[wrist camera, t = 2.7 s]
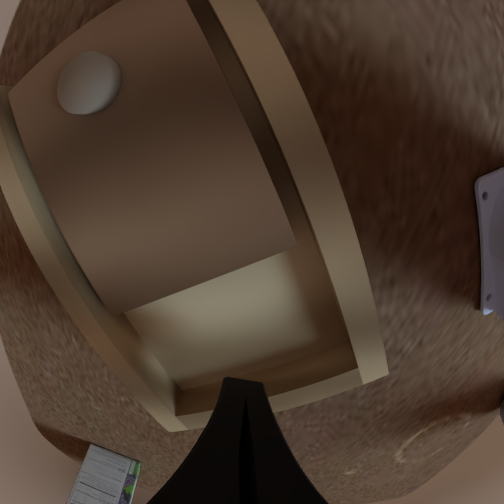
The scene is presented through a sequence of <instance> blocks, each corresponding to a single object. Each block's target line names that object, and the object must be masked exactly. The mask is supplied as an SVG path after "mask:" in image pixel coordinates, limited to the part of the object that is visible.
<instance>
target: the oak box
mask: <svg viewBox="0 0 504 504" xmlns="http://www.w3.org/2000/svg"><path fill="white" fill-rule="evenodd" d="M187 2H188V4H189V6H190V8H191V10H192V11H193V13H194V15H195V17H196V19H197V21H198V23H199V25H200V27H201V29H202V31H203V33H204V35H205V37H206V39H207V40H208V42H209V44H210V46H211V48H212V50H213V52H214V54H215V56H216V58H217V61H218V63H219V65H220V67H221V69H222V71H223V73H224V75H225V77H226V79H227V81H228V83H229V85H230V87H231V90H232V92H233V94H234V96H235V98H236V100H237V102H238V104H239V107H240V109H241V111H242V113H243V115H244V117H245V120H246V122H247V124H248V126H249V128H250V131H251V133H252V135H253V137H254V140H255V142H256V144H257V146H258V149H259V151H260V153H261V155H262V158H263V160H264V162H265V165H266V167H267V169H268V172H269V174H270V176H271V179H272V181H273V183H274V186H275V188H276V190H277V193H278V195H279V198H280V200H281V202H282V205H283V207H284V210H285V212H286V215H287V217H288V220H289V222H290V225H291V227H292V229H293V232H294V235H295V238H296V240H297V243H298V246H297V247H294V248H292V249H289V250H287V251H284V252H281V253H279V254H276V255H274V256H271V257H269V258H266V259H263V260H261V261H258V262H256V263H253V264H251V265H248V266H245V267H243V268H240V269H238V270H235V271H232V272H230V273H227V274H225V275H222V276H219V277H217V278H214V279H212V280H209V281H206V282H204V283H201V284H198V285H196V286H193V287H191V288H188V289H185V290H183V291H180V292H177V293H175V294H172V295H169V296H167V297H164V298H162V299H159V300H156V301H154V302H151V303H148V304H146V305H143V306H140V307H138V308H135V309H132V310H129V311H127V312H124V313H121V314H119V315H116V316H113V317H112V315H111V314H110V312H109V311H108V309H107V308H106V306H105V305H104V303H103V302H102V300H101V299H100V297H99V296H98V294H97V293H96V291H95V289H94V288H93V286H92V285H91V283H90V281H89V280H88V278H87V276H86V275H85V273H84V271H83V270H82V268H81V266H80V265H79V263H78V261H77V259H76V258H75V256H74V254H73V252H72V250H71V249H70V247H69V245H68V243H67V241H66V239H65V237H64V236H63V234H62V232H61V230H60V228H59V226H58V224H57V222H56V220H55V218H54V216H53V214H52V212H51V210H50V208H49V205H48V203H47V201H46V199H45V197H44V194H43V192H42V190H41V188H40V185H39V183H38V181H37V178H36V176H35V174H34V171H33V169H32V166H31V164H30V161H29V159H28V156H27V153H26V151H25V148H24V145H23V142H22V139H21V136H20V134H19V131H18V128H17V124H16V121H15V118H14V115H13V111H12V108H11V105H10V101H9V97H8V93H9V91H10V90H11V89H12V88H13V87H14V86H9V85H0V186H1V189H2V191H3V194H4V196H5V199H6V201H7V203H8V206H9V208H10V210H11V213H12V215H13V217H14V219H15V221H16V224H17V226H18V228H19V230H20V232H21V234H22V236H23V238H24V240H25V242H26V244H27V246H28V248H29V250H30V252H31V254H32V255H33V257H34V259H35V261H36V263H37V264H38V266H39V268H40V270H41V272H42V273H43V275H44V277H45V278H46V280H47V282H48V283H49V285H50V287H51V288H52V290H53V292H54V293H55V295H56V296H57V298H58V299H59V301H60V303H61V304H62V306H63V307H64V309H65V310H66V312H67V313H68V315H69V316H70V318H71V319H72V320H73V322H74V323H75V325H76V326H77V328H78V329H79V330H80V332H81V333H82V334H83V336H84V337H85V339H86V340H87V341H88V343H89V344H90V345H91V346H92V348H93V349H94V350H95V352H96V353H97V354H98V355H99V357H100V358H101V359H102V360H103V362H104V363H105V364H106V365H107V367H108V368H109V369H110V370H111V371H112V373H113V374H114V375H115V376H116V377H117V378H118V380H119V381H120V382H121V383H122V384H123V385H124V386H125V388H126V389H127V390H128V391H129V392H130V393H131V394H132V395H133V396H134V397H135V398H136V400H137V401H138V402H139V403H140V404H141V405H142V406H143V407H144V408H145V409H146V410H147V411H148V412H149V413H150V414H151V415H152V416H153V417H154V418H155V419H156V420H157V421H158V422H159V423H160V424H161V425H162V426H163V427H164V428H165V429H166V430H167V431H168V432H175V431H183V430H190V429H197V428H204V427H206V425H207V423H208V421H209V419H210V417H211V415H212V413H213V411H214V409H215V406H216V404H217V401H218V397H219V393H220V390H221V386H222V382H223V378H225V377H233V378H238V379H244V380H250V381H257V382H262V383H263V384H264V387H265V390H266V394H267V397H268V400H269V403H270V406H271V408H272V411H273V413H276V412H280V411H284V410H287V409H291V408H295V407H298V406H301V405H305V404H308V403H311V402H315V401H318V400H321V399H324V398H327V397H330V396H333V395H336V394H339V393H342V392H345V391H347V390H350V389H353V388H356V387H358V386H361V385H363V384H366V383H369V382H371V381H374V380H376V379H379V378H381V377H383V376H386V375H388V374H389V373H388V367H387V361H386V355H385V350H384V345H383V340H382V335H381V330H380V325H379V320H378V316H377V311H376V307H375V303H374V298H373V294H372V290H371V286H370V282H369V278H368V274H367V270H366V267H365V263H364V259H363V256H362V252H361V249H360V245H359V242H358V238H357V235H356V231H355V228H354V225H353V222H352V218H351V215H350V212H349V209H348V206H347V203H346V200H345V197H344V194H343V191H342V188H341V185H340V182H339V179H338V177H337V174H336V171H335V168H334V166H333V163H332V160H331V157H330V155H329V152H328V150H327V147H326V144H325V142H324V139H323V137H322V134H321V132H320V129H319V127H318V124H317V122H316V120H315V117H314V115H313V112H312V110H311V108H310V106H309V103H308V101H307V99H306V96H305V94H304V92H303V90H302V88H301V85H300V83H299V81H298V79H297V77H296V75H295V72H294V70H293V68H292V66H291V64H290V62H289V60H288V58H287V56H286V54H285V52H284V50H283V48H282V46H281V44H280V42H279V40H278V38H277V37H276V35H275V33H274V31H273V29H272V27H271V25H270V24H269V22H268V20H267V18H266V16H265V15H264V13H263V11H262V9H261V8H260V6H259V4H258V2H257V1H256V0H187Z"/></svg>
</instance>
